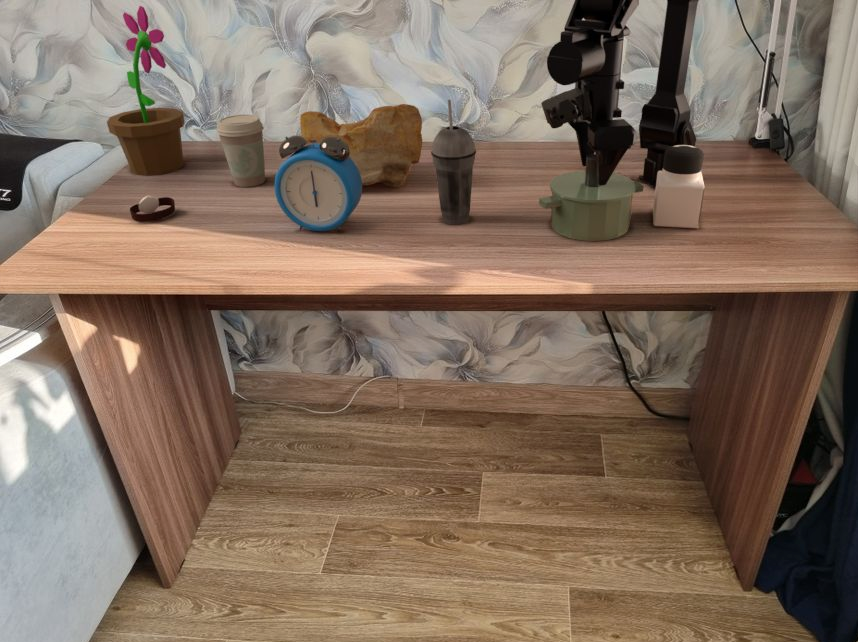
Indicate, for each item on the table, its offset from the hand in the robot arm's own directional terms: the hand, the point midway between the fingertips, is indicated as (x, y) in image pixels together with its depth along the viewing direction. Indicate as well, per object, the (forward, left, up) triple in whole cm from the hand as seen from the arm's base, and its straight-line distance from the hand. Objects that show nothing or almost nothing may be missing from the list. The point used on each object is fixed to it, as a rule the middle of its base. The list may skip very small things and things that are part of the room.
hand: (593, 175), depth 116 cm
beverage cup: (+19, -12, -9) cm, 24 cm away
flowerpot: (+64, -65, -9) cm, 92 cm away
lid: (0, 0, -2) cm, 2 cm away
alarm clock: (+40, -19, -9) cm, 45 cm away
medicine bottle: (-14, +4, -9) cm, 17 cm away
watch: (+66, -36, -9) cm, 76 cm away
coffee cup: (+48, -47, -9) cm, 68 cm away
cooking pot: (0, 0, -8) cm, 9 cm away
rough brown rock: (+26, -38, -9) cm, 47 cm away
